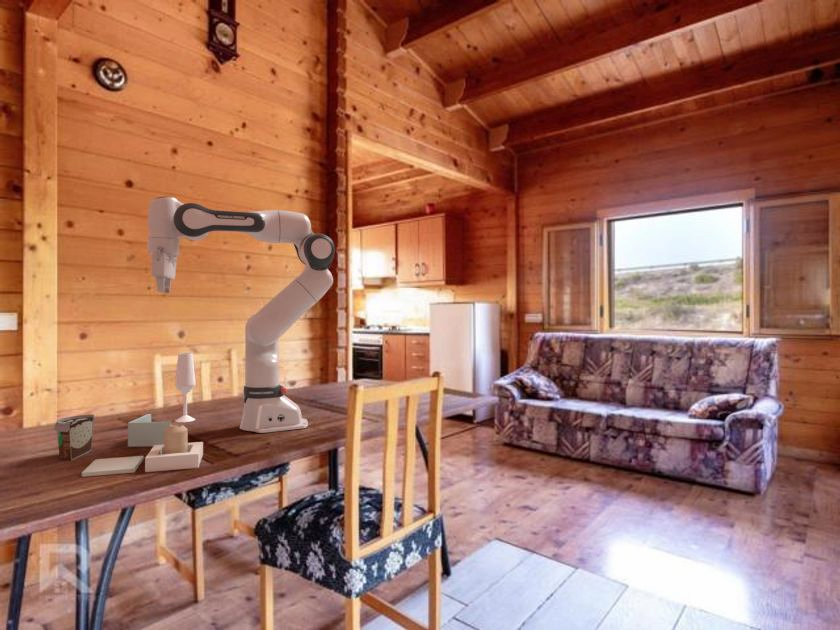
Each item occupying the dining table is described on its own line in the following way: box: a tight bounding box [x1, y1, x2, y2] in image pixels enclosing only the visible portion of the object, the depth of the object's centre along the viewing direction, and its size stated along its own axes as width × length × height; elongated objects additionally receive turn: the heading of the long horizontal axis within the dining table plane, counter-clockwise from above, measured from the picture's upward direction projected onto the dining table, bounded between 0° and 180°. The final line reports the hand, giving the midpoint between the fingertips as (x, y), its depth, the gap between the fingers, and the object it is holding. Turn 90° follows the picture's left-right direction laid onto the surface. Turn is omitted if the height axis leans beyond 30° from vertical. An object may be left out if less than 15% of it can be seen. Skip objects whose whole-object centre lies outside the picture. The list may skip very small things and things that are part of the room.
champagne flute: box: [174, 352, 197, 423], centre depth 178 cm, size 7×7×24 cm
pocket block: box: [144, 441, 204, 473], centre depth 129 cm, size 12×12×4 cm
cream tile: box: [81, 455, 144, 478], centre depth 125 cm, size 11×11×1 cm
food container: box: [53, 414, 96, 462], centre depth 134 cm, size 12×6×10 cm, turn 5°
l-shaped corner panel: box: [127, 413, 173, 448], centre depth 150 cm, size 12×12×8 cm
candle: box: [164, 423, 189, 454], centre depth 129 cm, size 6×6×10 cm
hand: (163, 292), depth 156 cm, fingers open, 8 cm apart
